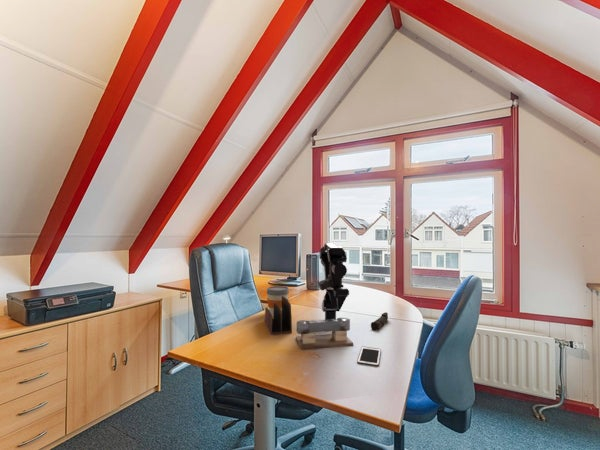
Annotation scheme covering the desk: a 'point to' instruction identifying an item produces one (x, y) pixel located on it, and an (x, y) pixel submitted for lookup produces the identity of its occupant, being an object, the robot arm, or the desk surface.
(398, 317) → the desk surface
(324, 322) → the grey long block
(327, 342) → the tool rack
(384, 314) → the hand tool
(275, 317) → the letter holder
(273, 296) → the reusable coffee cup
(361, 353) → the cell phone
